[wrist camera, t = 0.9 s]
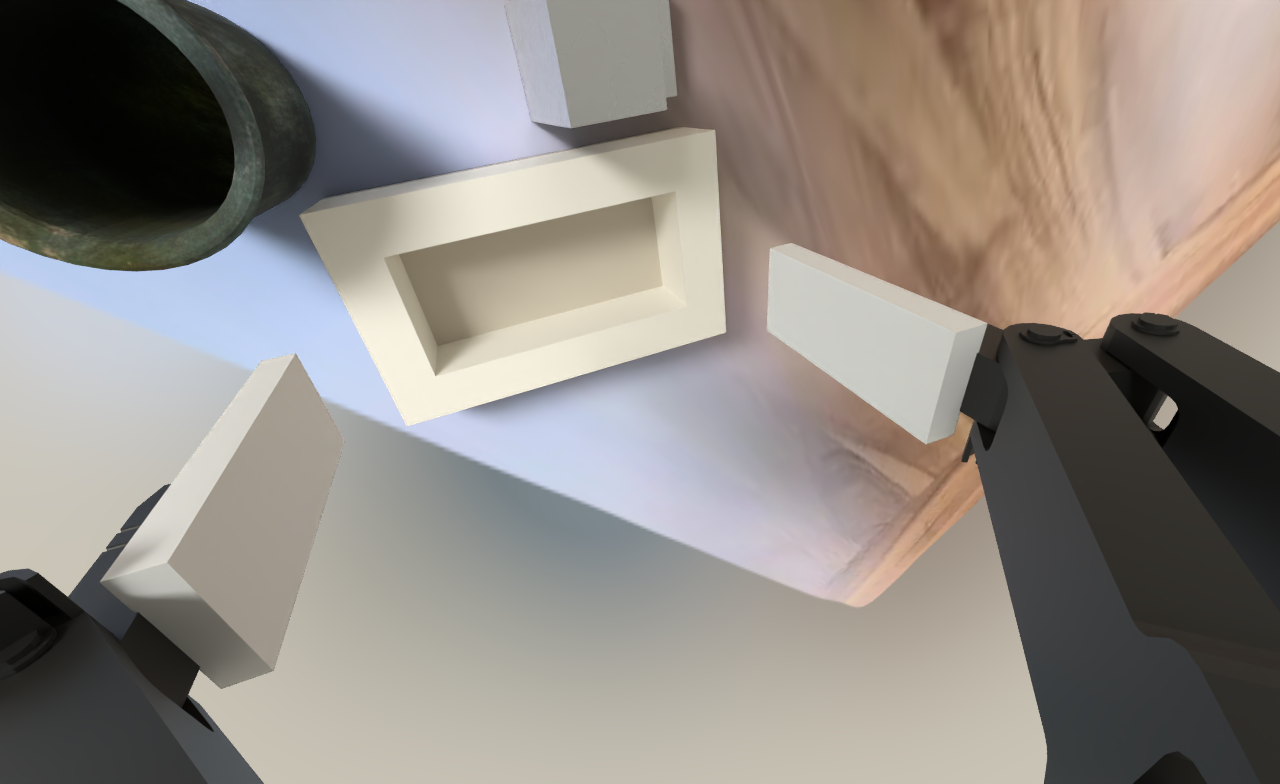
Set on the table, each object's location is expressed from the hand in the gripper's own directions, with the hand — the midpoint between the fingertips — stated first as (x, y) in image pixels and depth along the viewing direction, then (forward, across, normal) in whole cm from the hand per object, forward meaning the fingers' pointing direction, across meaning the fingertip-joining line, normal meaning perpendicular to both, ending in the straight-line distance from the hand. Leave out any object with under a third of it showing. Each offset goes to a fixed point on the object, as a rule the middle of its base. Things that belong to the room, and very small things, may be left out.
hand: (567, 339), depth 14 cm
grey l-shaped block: (+24, +8, +7) cm, 26 cm away
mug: (+24, -16, +8) cm, 30 cm away
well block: (+24, +2, -5) cm, 25 cm away
